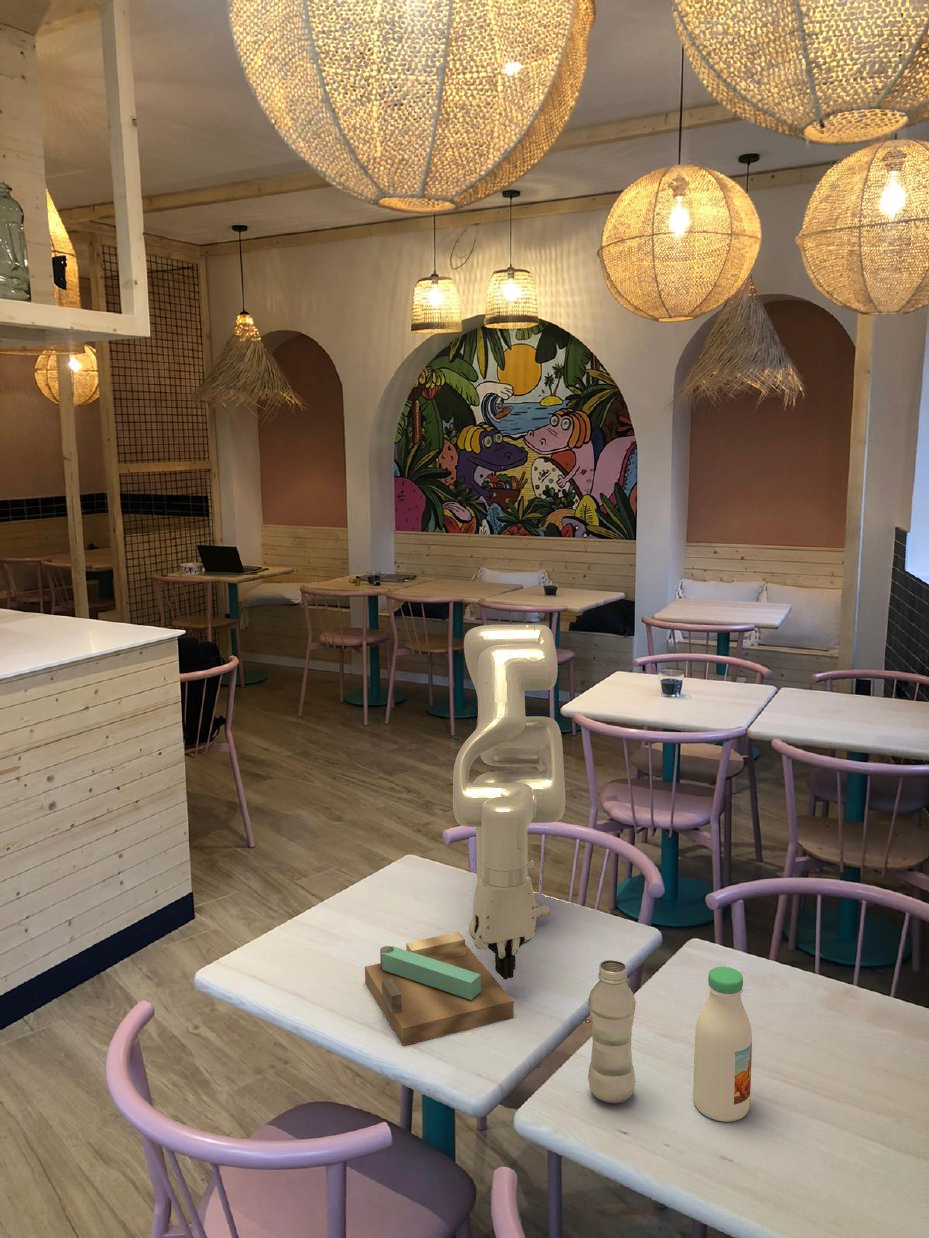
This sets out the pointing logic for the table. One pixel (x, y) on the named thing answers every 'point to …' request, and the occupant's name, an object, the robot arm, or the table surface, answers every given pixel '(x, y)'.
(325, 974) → the table surface
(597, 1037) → the plastic bottle
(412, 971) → the folding leg
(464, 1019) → the stool seat
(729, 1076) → the milk bottle
